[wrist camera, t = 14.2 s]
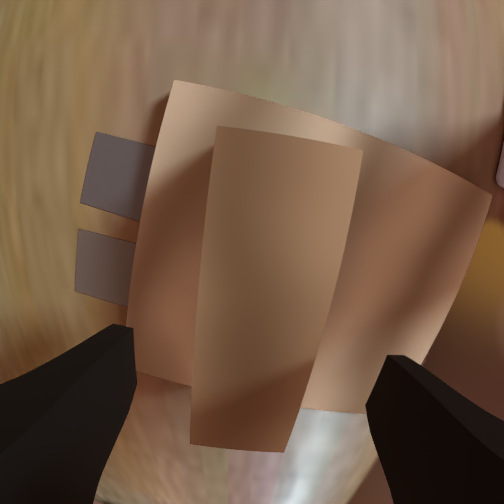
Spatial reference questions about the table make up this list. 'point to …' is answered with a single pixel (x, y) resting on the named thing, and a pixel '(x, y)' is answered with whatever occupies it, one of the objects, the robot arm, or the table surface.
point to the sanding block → (266, 282)
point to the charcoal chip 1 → (117, 175)
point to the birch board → (353, 261)
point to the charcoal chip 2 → (104, 267)
